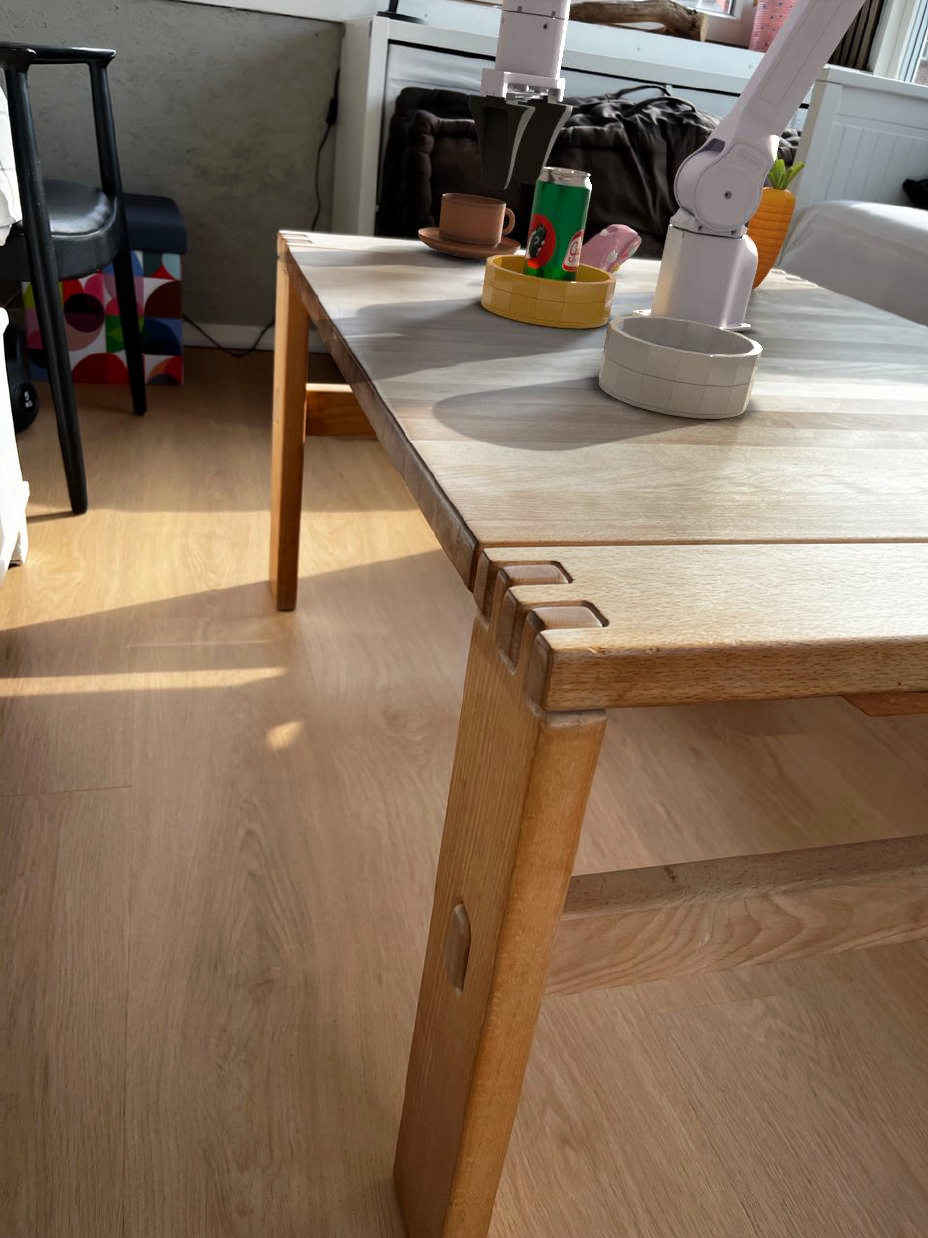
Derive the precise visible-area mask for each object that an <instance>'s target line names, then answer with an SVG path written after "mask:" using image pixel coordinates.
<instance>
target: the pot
mask: <svg viewBox="0 0 928 1238" xmlns="http://www.w3.org/2000/svg"><path fill="white" fill-rule="evenodd" d="M763 350H764V349H763V348H762V346H761V345H760V344H759V343H758V341H756V340H754V339H751V338H750V337H748V336H746V335H744V334H742V333H739V332H737V331H734V332H733V331H730V330H727V329H723V328H720V327H717V326H713V325H708V324H704V323H699V322H695V321H690V320H683V319H676V318H669V317H661V316H641V315H634V316H632V315H625V316H617V317H614V318H613V319H611V320H608V324H607V330H606V334H605V339H604V345H603V351H602V355H601V361H600V367H599V370H598V371H599V372H598V386H599V388H600V389H601V390H602V391H603V392H604V393H606V394H607V395H609V396H610V397H612V398H614V399H616V400H619V401H621V402H623V403H625V404H628V405H631V406H634V407H637V408H640V409H643V410H648V411H651V412H655V413H659V414H663V415H670V416H676V417H682V418H689V419H703V420H705V419H706V420H712V419H713V420H717V419H719V420H720V419H729V418H730V419H731V418H734V417H738V416H740V415H742V414H744V412H745V411H746V410H747V406H748V405H749V403H750V399H751V395H752V391H753V388H754V384H755V381H756V377H757V373H758V369H759V366H760V362H761V358H762V354H763Z"/></svg>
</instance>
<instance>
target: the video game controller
mask: <svg viewBox="0 0 928 1238" xmlns="http://www.w3.org/2000/svg"><path fill="white" fill-rule="evenodd" d="M642 241H643V240H642V238H641V237H640V236H639V234H638V232H637V231H636V230H634V229H632V228H630V227H629V226H627V225H624V224H615V223H614V224H611V225H608V226H607V227H606V228H604V229H602V230H601V231H600V232H599V233H597V234H595V235H594V236H592V237H591V238H590V239H589V240H588V241H587V242H586V243H584V244H582V247H581V253H580V259H579V263H582V264H586V265H589V266H593V267H596V268H600V269H603V270H605V271H607V272H609V273H611V274H613V275H614V273H615V272H618V271H619V270H620V267H621V266H622V265H623V264H624V263H626V261H628V260H629V259H631V257H633V255H634V254H636V252H637V250H638V248H639V247H640V245H641V244H642Z"/></svg>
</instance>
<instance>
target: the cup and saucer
mask: <svg viewBox="0 0 928 1238" xmlns="http://www.w3.org/2000/svg"><path fill="white" fill-rule="evenodd" d="M506 206H507V203H506V201H503V200H500V199H496V198H492V197H489V196H488V197H487V196H482V195H475V194H469V193H468V194H467V193H454V192H453V193H452V192H450V193H443V194H442V196H441V205H440V217H439V226H438V227H424V228H421V229H418V231H417V235H418V238H419V239H420V241H421V242H422V243H423V244H424V245H425V246H427V247H429V248H431V249H432V250H435V251H437V252H440V253H443V254H446V255H450V256H453V257H458V258H464V259H471V260H487V258H488V257H492V256H496V255H513V254H515V255H516V253H517V252H519V250H520V249H521V243H520V242H518V241H517V240H515V239H513V238H509V237H507V236H506V235H509V234H510V233H511V232H512V230H513V229H514V227H515V222H516V221H515V220H516V219H515V214H514V212H513V211H512V210H511V209H510V208H507V207H506ZM505 215H506V216H508V218H509V219H508V220H509V223H508V226H507V227H506V228H504V229H503V226H504V219H505V218H504V217H505Z"/></svg>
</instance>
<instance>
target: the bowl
mask: <svg viewBox="0 0 928 1238" xmlns="http://www.w3.org/2000/svg"><path fill="white" fill-rule="evenodd" d="M524 260H525V254H516V253H515V254H513V255H496V256H492V257H488V258H487V259H486V263H485V270H484V278H483V285H482V286H483V287H482V294H481V301H480V304H481V306H482V307H483V308H484V309H485V310H486V311H489V312H491V313H492V314H494V315H498V316H500V317H503V318H506V319H510V320H513V321H517V322H521V323H526V324H530V325H531V324H532V325H536V326H543V327H551V328H561V329H593V328H599V327H602V326H605V325H606V324H607V323H608V322H609V318H610V315H611V310H612V307H613V306H612V305H613V300H614V294H615V289H616V283H617V278H616V276H615V275H614V273H613V274H611V273H609V272H607V271H605V270H603V269H600V268H596V267H593V266H589V265H586V264H582V263H579V265H578V270H577V276H576V282H568V281H559V280H552V279H545V278H539V277H534V276H529V275H525V274H523V267H524Z"/></svg>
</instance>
